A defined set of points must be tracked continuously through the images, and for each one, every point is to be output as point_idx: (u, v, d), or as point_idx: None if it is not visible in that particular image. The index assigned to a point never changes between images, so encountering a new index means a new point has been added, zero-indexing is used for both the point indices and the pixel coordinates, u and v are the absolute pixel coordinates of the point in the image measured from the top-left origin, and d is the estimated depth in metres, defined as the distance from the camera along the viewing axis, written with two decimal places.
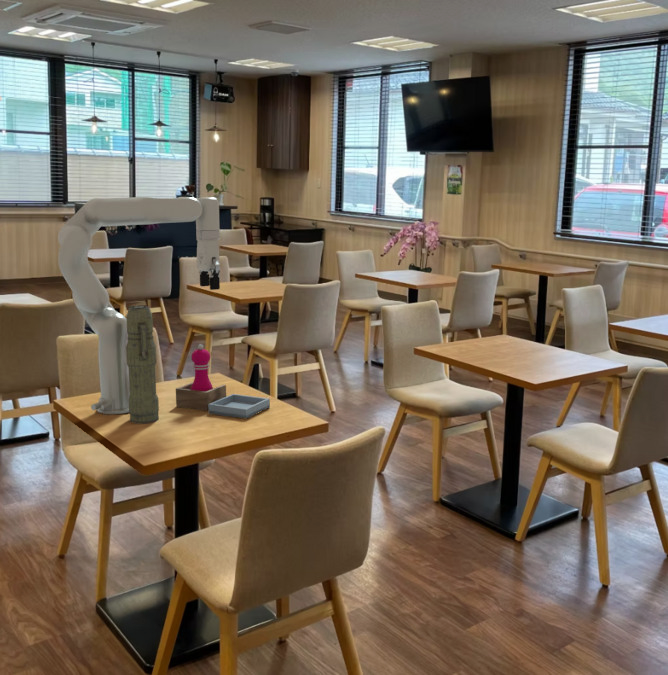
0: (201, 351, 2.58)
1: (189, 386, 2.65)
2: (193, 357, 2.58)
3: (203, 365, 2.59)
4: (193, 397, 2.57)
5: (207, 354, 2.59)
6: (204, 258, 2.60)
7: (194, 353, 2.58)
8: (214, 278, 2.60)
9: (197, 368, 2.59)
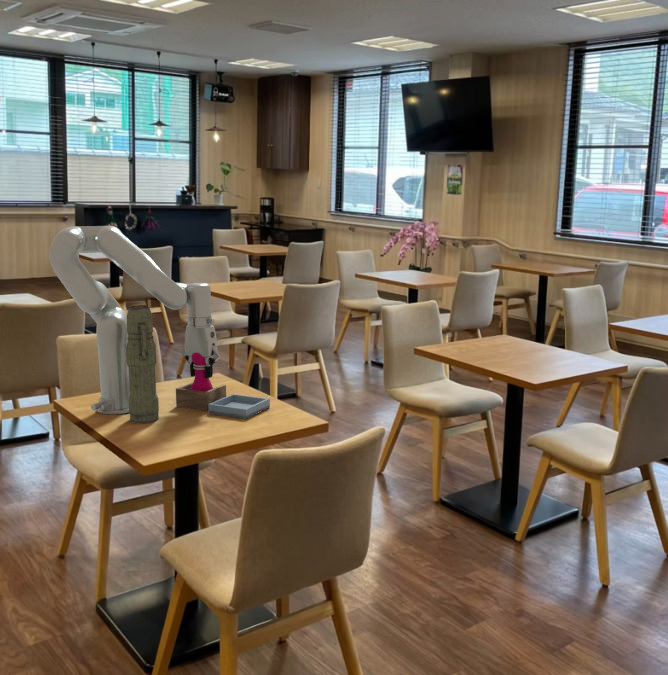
0: None
1: (189, 386, 2.65)
2: (193, 357, 2.58)
3: (203, 365, 2.59)
4: (193, 397, 2.57)
5: None
6: None
7: (194, 353, 2.58)
8: None
9: (197, 368, 2.59)
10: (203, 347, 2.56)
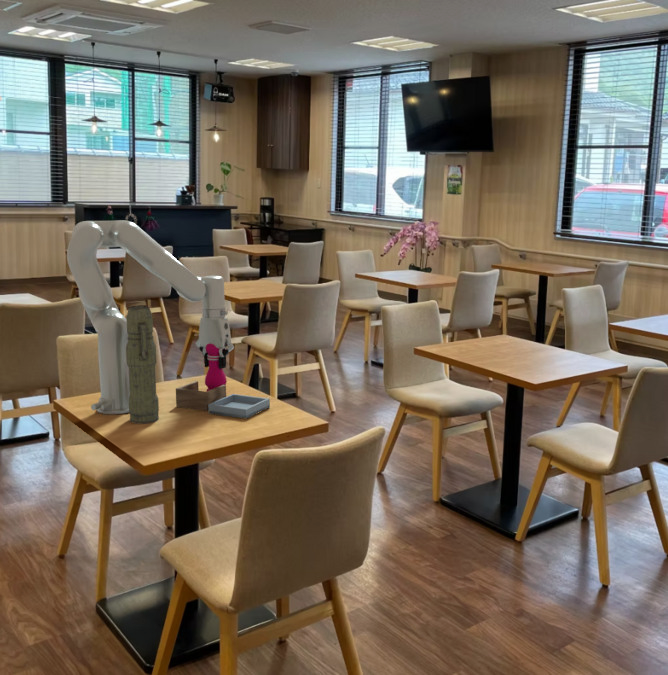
0: None
1: (189, 386, 2.65)
2: (207, 348, 2.65)
3: (217, 356, 2.65)
4: (193, 397, 2.57)
5: None
6: None
7: (208, 344, 2.65)
8: None
9: (211, 359, 2.65)
10: (217, 338, 2.63)
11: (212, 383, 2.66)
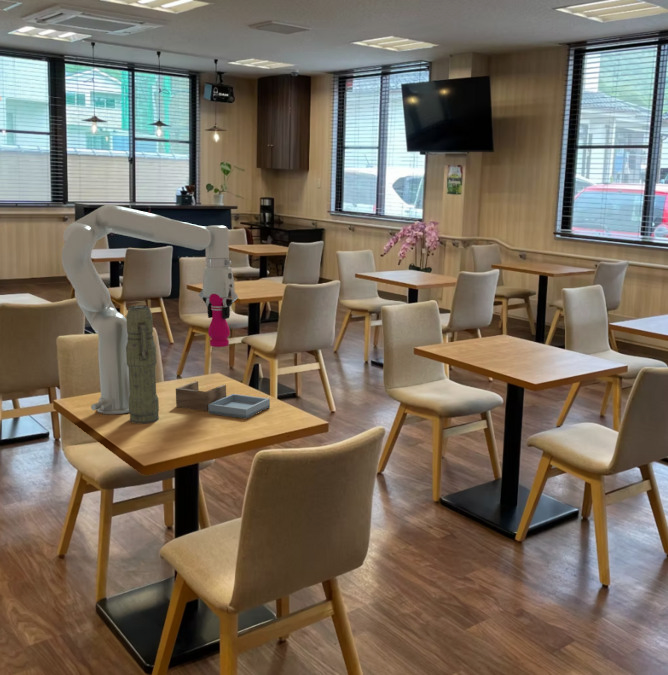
0: None
1: (189, 386, 2.65)
2: (211, 298, 2.64)
3: (220, 306, 2.65)
4: (193, 397, 2.57)
5: None
6: None
7: (212, 294, 2.65)
8: None
9: (215, 309, 2.65)
10: (221, 288, 2.63)
11: (215, 333, 2.65)
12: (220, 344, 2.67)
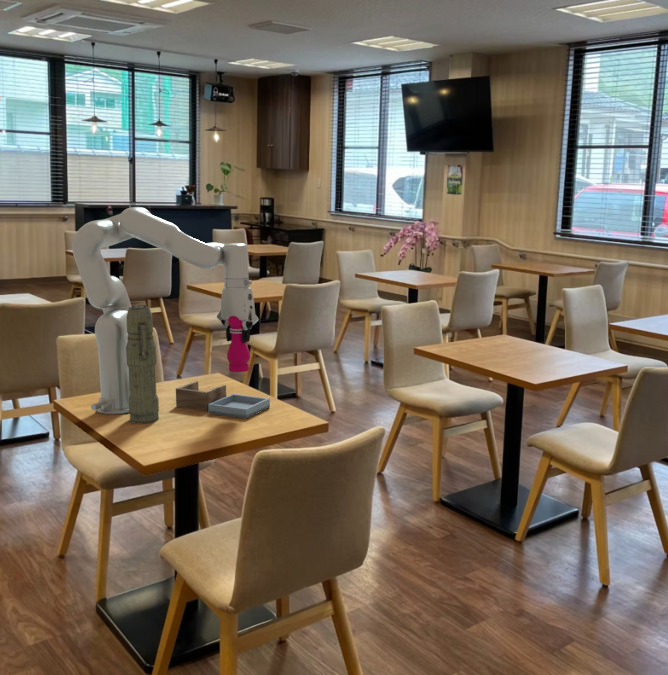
0: None
1: (189, 386, 2.65)
2: (230, 320, 2.48)
3: (240, 329, 2.49)
4: (193, 397, 2.57)
5: None
6: None
7: (231, 316, 2.49)
8: None
9: (234, 332, 2.49)
10: (240, 310, 2.47)
11: (235, 358, 2.49)
12: (240, 369, 2.50)
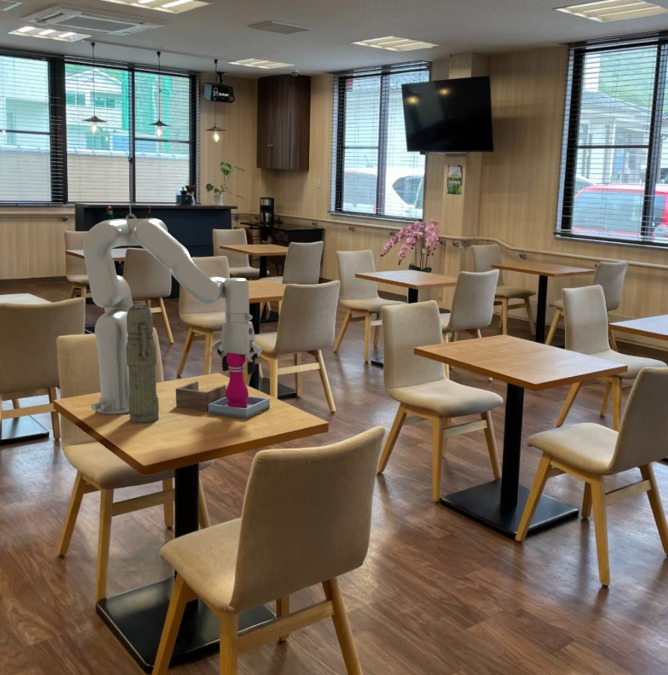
0: None
1: (189, 386, 2.65)
2: (228, 359, 2.51)
3: (239, 367, 2.52)
4: (193, 397, 2.57)
5: (243, 356, 2.52)
6: None
7: (229, 355, 2.51)
8: None
9: (232, 370, 2.51)
10: (241, 344, 2.49)
11: (233, 396, 2.52)
12: (238, 407, 2.53)
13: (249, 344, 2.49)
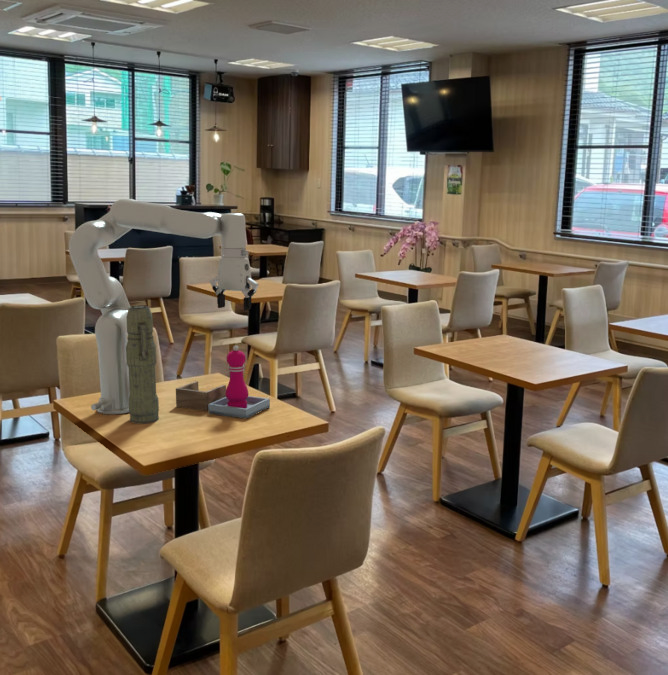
0: (237, 352, 2.51)
1: (189, 386, 2.65)
2: (228, 359, 2.51)
3: (239, 367, 2.52)
4: (193, 397, 2.57)
5: (243, 356, 2.52)
6: None
7: (229, 355, 2.51)
8: None
9: (232, 370, 2.52)
10: (237, 280, 2.46)
11: (233, 396, 2.52)
12: (238, 407, 2.53)
13: (245, 280, 2.46)
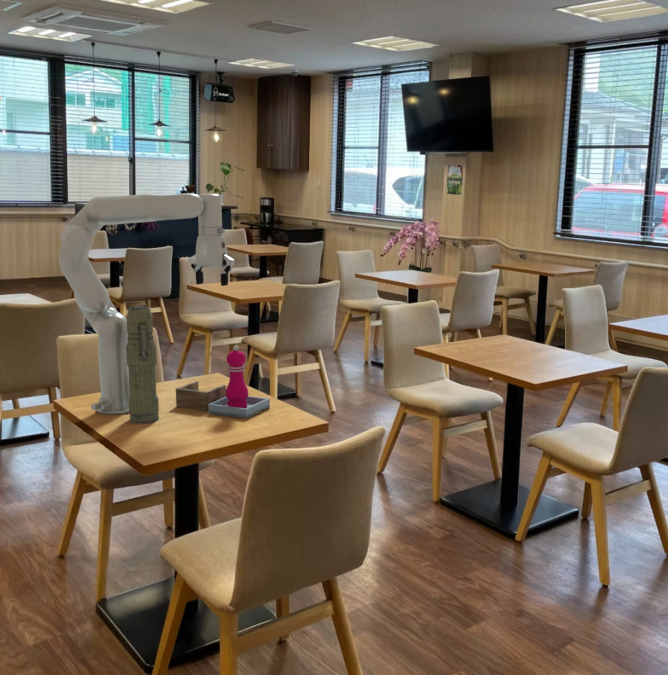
0: (237, 352, 2.51)
1: (189, 386, 2.65)
2: (228, 359, 2.51)
3: (239, 367, 2.52)
4: (193, 397, 2.57)
5: (243, 356, 2.52)
6: None
7: (229, 355, 2.51)
8: None
9: (232, 370, 2.52)
10: (214, 257, 2.60)
11: (233, 396, 2.52)
12: (238, 407, 2.53)
13: (222, 257, 2.60)
